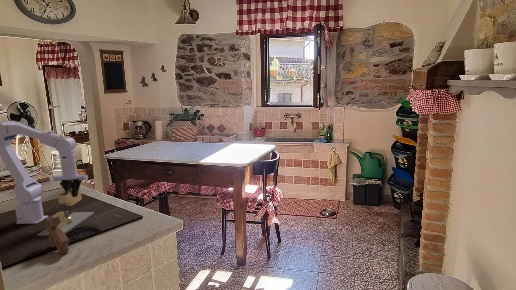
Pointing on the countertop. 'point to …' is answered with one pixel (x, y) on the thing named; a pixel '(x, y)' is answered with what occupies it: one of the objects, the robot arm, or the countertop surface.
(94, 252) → the countertop surface
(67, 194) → the tan block
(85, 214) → the board
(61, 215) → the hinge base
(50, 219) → the figurine
